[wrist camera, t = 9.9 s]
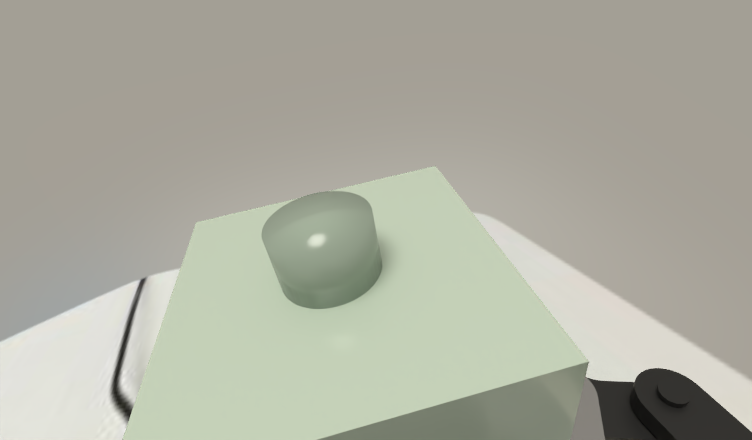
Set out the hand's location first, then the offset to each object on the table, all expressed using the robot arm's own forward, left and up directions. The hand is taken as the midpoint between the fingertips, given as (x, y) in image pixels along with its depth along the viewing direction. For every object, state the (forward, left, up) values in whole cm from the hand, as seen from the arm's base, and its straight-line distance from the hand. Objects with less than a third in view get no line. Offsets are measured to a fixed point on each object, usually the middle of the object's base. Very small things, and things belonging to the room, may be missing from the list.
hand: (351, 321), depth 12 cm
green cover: (+2, -1, -6) cm, 6 cm away
